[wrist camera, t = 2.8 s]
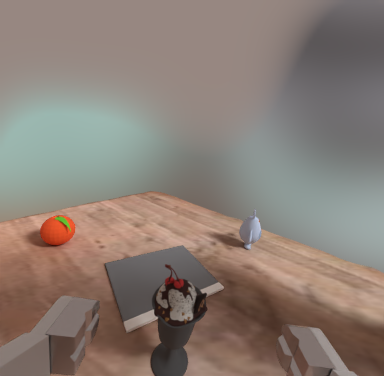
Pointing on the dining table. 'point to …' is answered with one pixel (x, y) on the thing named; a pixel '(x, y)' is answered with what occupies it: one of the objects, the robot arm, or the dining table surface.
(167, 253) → the mat
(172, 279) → the sundae
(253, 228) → the toy figure
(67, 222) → the clementine
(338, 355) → the robot arm
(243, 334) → the dining table surface
